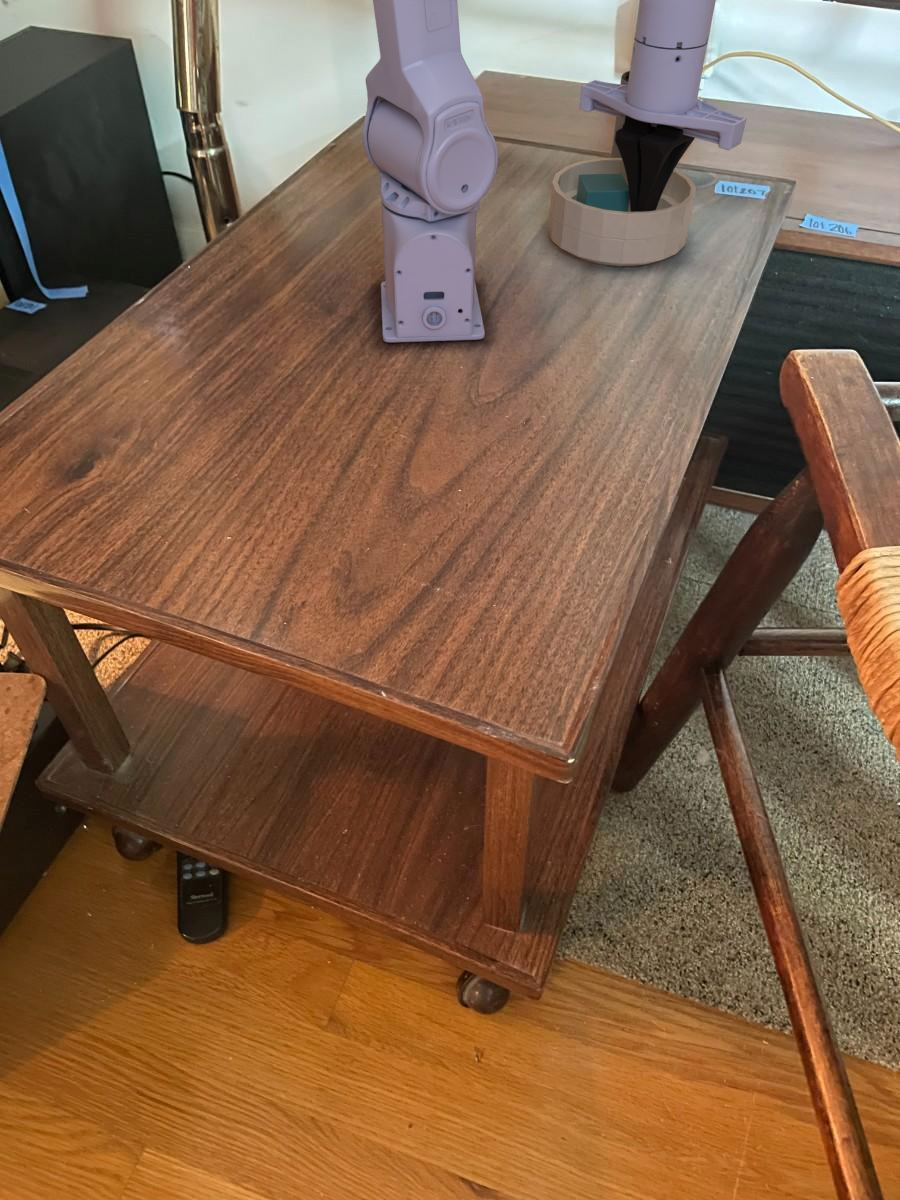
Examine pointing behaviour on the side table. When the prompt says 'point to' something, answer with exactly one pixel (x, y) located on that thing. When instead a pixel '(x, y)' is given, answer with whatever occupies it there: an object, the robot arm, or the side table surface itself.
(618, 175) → the block
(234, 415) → the side table surface
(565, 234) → the bowl
